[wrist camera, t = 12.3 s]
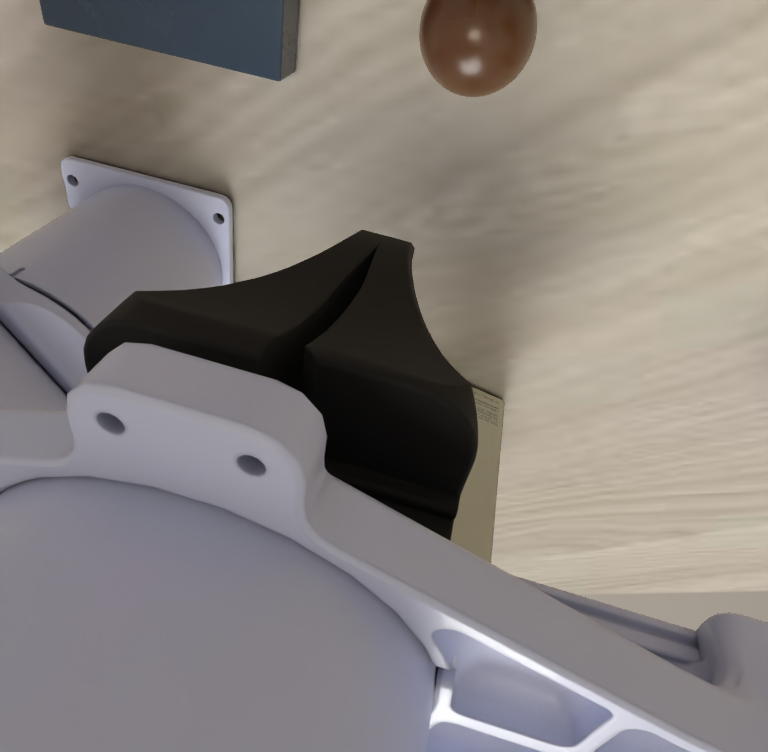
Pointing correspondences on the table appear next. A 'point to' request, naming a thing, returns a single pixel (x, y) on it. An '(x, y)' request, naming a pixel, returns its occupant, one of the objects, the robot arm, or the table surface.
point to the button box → (192, 29)
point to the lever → (477, 42)
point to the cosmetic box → (481, 481)
